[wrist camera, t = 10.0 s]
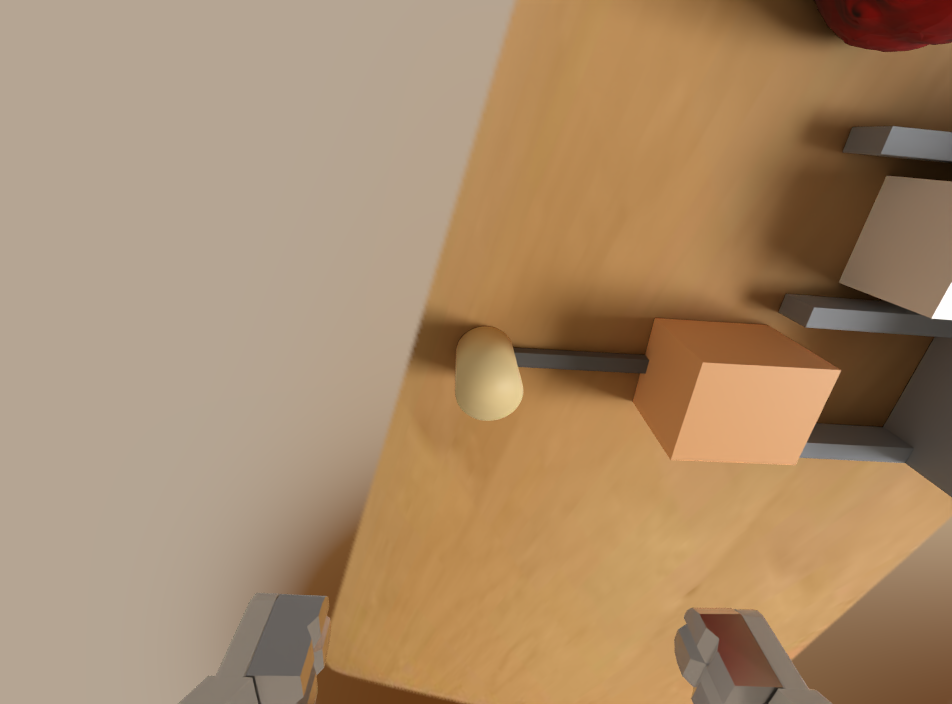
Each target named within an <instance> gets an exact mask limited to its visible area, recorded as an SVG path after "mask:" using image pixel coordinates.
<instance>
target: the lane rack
mask: <svg viewBox="0 0 952 704" xmlns="http://www.w3.org/2000/svg"><path fill="white" fill-rule="evenodd" d="M843 153H853V154H863V155H873V156H883V157H893V158H904V159H914V160H924V161H934V162H944V163H952V132H945V131H935V130H926V129H916V128H906V127H897V126H877V127H852V129H851V132H850V134H849V137H848V139H847V142H846V144H845V147H844V149H843ZM779 313H780V314H782V315H784V316H786V317H788V318H789V319H791V320H793V321H795V322H797V323H798V324H800V325H802V326H804V327H807V328H821V329H835V330H849V331H863V332H877V333H891V334H905V335H919V336H933V337H934V339H933V341H932V343H931V344H930V346H929V348H928V350H927V351H926V353H925V355H924V357H923V358H922V360H921V362H920V363H919V365H918V367H917V369H916V370H915V372H914V374H913V376H912V377H911V379H910V381H909V383H908V384H907V386H906V388H905V390H904V391H903V393H902V395H901V397H900V398H899V400H898V402H897V404H896V405H895V407H894V409H893V411H892V412H891V414H890V416H889V418H888V419H887V421H886V423H885V425H884V426H883V427H873V426H855V425H837V424H820V423H816V424H815V426H814V428H813V430H812V432H811V434H810V436H809V439H808V441H807V443H806V445H805V447H804V449H803V451H802V453H801V455H800V457H799V458H817V459H837V460H857V461H876V462H896V463H906V464H907V465H909V466H910V467H911V468H913V469H914V470H915V471H917V472H918V473H919V474H921V475H922V476H924V477H925V478H926V479H928V480H929V481H930V482H932V483H933V484H934V485H936V486H937V487H939V488H940V489H941V490H943V491H944V492H945V493H947V494H948V495H949V496H951V497H952V320H945V319H932V318H929V317H926V316H924V315H921V314H919V313H916V312H913V311H911V310H908V309H906V308H903V307H900V306H898V305H895V304H893V303H890V302H887V301H875V300H861V299H848V298H835V297H822V296H809V295H796V294H786V295H785V297H784V300H783V302H782V305H781V307H780V310H779Z"/></svg>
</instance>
